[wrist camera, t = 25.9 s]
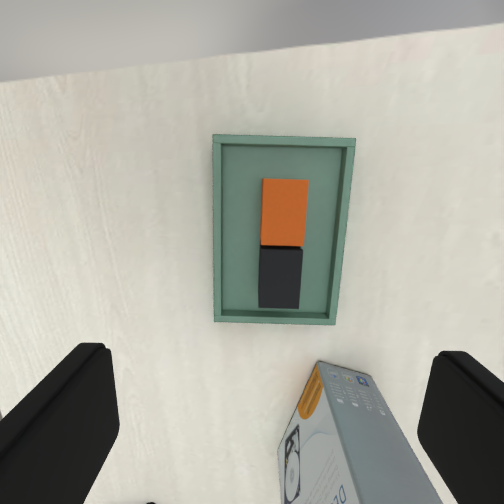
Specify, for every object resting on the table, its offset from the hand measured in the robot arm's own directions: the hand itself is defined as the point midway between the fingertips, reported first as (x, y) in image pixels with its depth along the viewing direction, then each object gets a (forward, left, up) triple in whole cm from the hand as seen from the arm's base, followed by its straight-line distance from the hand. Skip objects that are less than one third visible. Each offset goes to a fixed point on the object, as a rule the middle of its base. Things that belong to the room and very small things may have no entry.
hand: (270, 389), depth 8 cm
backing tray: (0, +2, -24) cm, 24 cm away
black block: (+3, +2, -23) cm, 23 cm away
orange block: (-3, +2, -23) cm, 23 cm away
